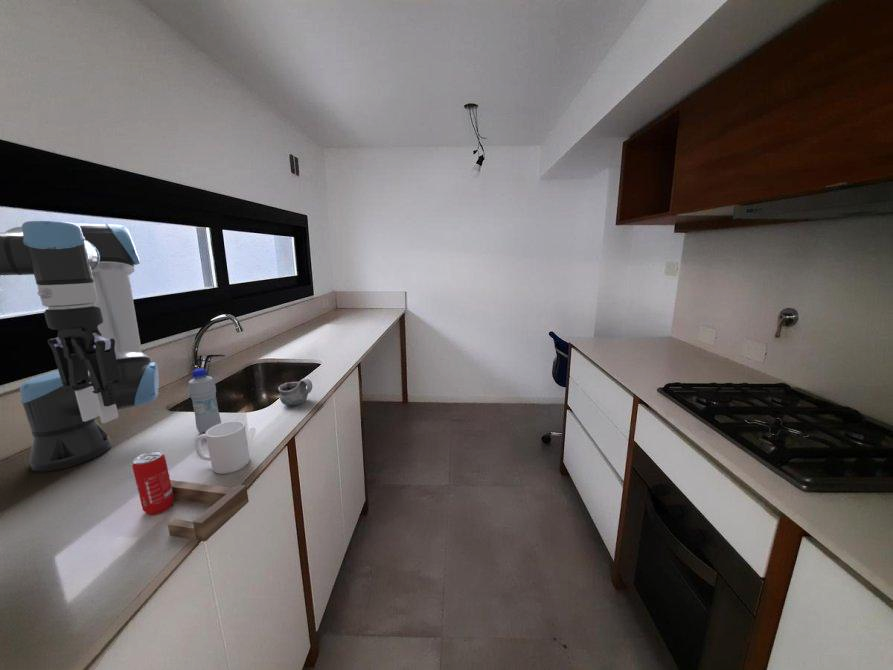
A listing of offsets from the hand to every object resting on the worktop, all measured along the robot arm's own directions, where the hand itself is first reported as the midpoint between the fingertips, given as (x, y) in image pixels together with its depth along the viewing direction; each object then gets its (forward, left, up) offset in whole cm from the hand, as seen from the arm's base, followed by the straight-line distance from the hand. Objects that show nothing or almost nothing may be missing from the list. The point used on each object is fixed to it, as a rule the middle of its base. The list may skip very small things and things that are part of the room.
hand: (100, 419), depth 72 cm
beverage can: (+10, 0, -20) cm, 22 cm away
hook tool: (+17, 0, -20) cm, 26 cm away
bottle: (-8, +31, -20) cm, 38 cm away
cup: (+11, +16, -20) cm, 28 cm away
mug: (+7, +54, -20) cm, 58 cm away
